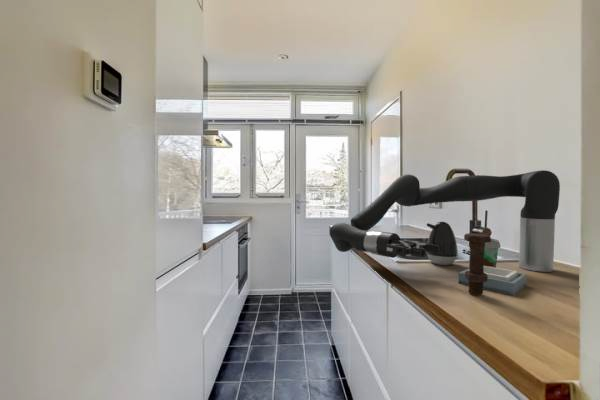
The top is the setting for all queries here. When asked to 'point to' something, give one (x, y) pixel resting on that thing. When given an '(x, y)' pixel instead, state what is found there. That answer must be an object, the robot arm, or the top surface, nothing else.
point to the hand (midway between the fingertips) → (432, 251)
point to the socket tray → (499, 280)
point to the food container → (491, 253)
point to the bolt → (476, 262)
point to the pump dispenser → (442, 244)
